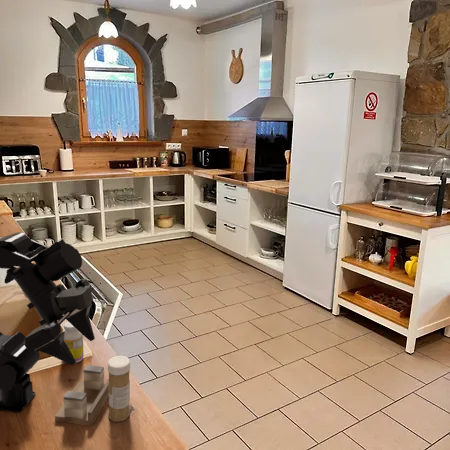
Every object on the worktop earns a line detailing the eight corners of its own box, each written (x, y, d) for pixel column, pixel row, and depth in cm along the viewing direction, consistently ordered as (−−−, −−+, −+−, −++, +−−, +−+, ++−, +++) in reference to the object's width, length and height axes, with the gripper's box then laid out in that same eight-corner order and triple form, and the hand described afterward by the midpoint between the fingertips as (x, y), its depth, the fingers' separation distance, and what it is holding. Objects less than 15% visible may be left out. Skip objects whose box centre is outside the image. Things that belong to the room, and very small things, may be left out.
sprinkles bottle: (110, 408, 94) (109, 354, 90) (131, 408, 94) (131, 354, 91) (106, 423, 89) (105, 367, 86) (128, 422, 90) (128, 367, 86)
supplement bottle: (58, 358, 110) (56, 323, 108) (76, 350, 114) (75, 316, 112) (69, 367, 107) (67, 331, 104) (87, 359, 111) (86, 323, 108)
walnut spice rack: (55, 420, 89) (53, 396, 87) (80, 385, 100) (79, 363, 99) (91, 425, 88) (91, 401, 87) (112, 389, 100) (112, 367, 98)
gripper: (47, 291, 75) (96, 361, 78) (91, 257, 93) (129, 314, 96) (1, 317, 78) (50, 384, 80) (52, 279, 95) (90, 334, 98)
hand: (83, 351), depth 88 cm, fingers open, 9 cm apart
